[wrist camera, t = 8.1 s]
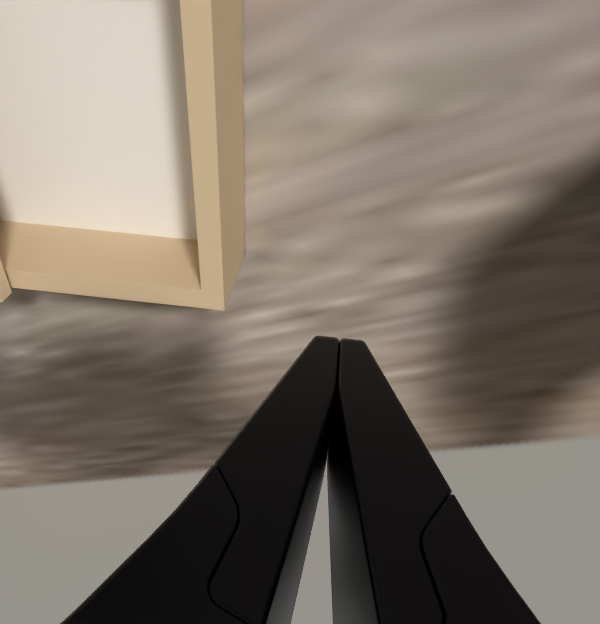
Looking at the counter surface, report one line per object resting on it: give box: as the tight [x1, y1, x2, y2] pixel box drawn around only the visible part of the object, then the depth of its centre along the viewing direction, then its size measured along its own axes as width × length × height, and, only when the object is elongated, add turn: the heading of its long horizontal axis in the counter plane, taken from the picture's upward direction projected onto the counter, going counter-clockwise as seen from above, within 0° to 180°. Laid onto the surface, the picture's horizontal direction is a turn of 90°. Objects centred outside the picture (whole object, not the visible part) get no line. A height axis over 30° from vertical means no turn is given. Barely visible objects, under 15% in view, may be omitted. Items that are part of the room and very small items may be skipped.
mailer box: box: [0, 0, 245, 310], centre depth 17 cm, size 14×13×4 cm
